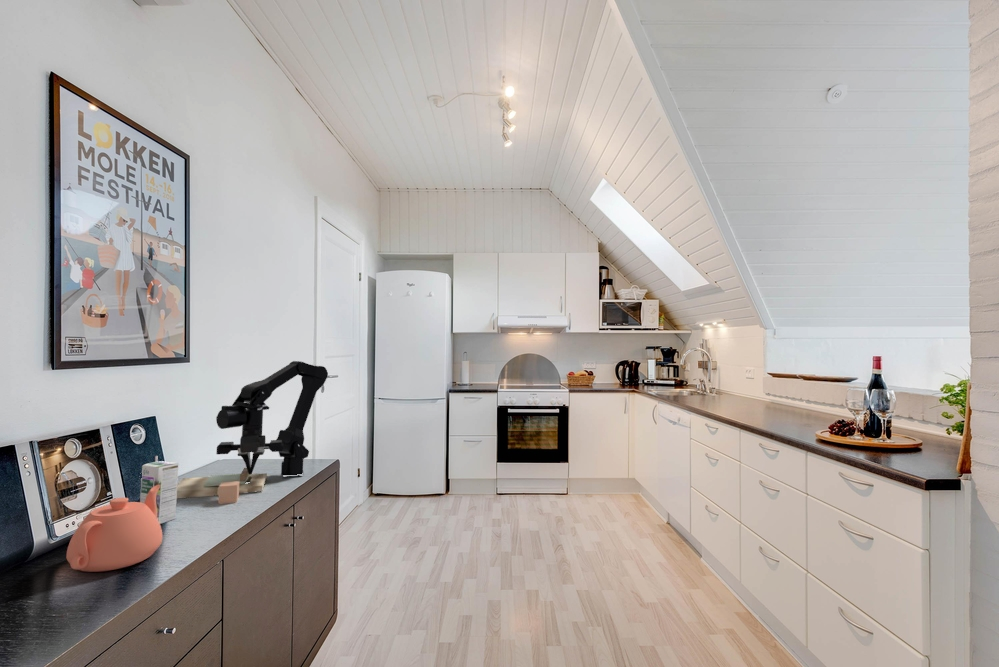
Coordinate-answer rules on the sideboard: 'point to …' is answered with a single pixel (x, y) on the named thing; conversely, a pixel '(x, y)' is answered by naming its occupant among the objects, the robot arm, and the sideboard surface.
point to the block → (228, 492)
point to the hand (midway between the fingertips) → (250, 474)
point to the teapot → (116, 535)
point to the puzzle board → (197, 489)
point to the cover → (227, 478)
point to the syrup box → (161, 487)
